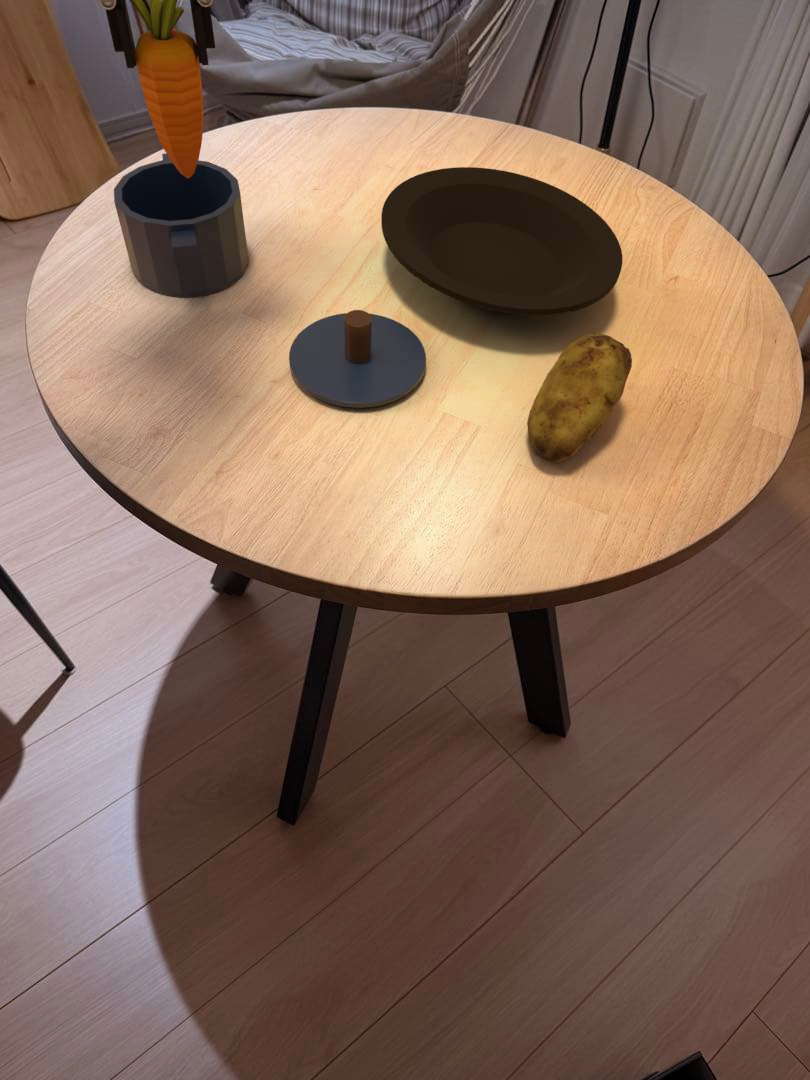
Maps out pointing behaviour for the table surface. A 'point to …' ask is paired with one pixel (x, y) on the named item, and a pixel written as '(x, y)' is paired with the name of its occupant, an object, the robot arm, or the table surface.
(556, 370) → the potato
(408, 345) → the lid
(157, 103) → the carrot
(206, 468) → the table surface
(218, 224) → the pot
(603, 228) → the plate
